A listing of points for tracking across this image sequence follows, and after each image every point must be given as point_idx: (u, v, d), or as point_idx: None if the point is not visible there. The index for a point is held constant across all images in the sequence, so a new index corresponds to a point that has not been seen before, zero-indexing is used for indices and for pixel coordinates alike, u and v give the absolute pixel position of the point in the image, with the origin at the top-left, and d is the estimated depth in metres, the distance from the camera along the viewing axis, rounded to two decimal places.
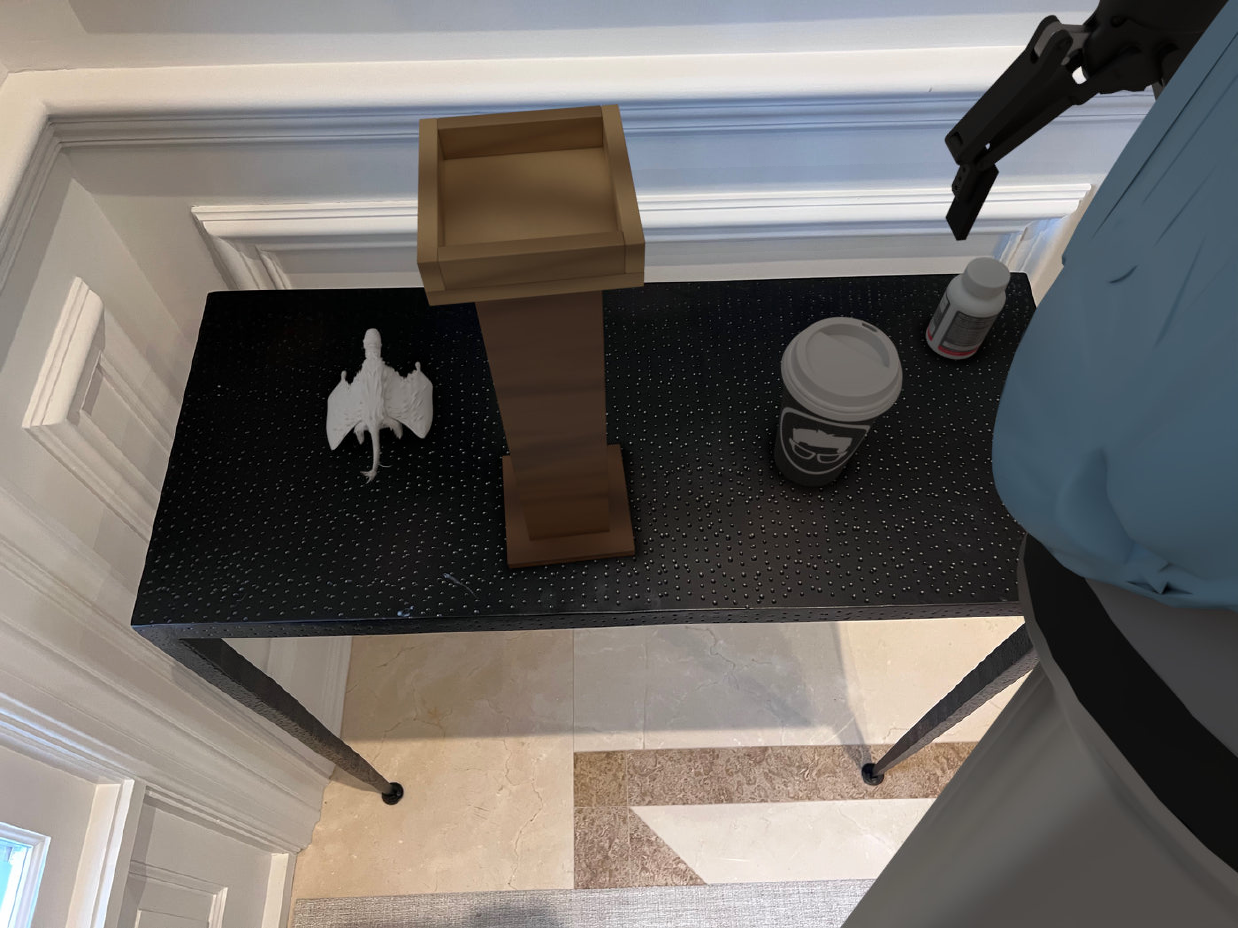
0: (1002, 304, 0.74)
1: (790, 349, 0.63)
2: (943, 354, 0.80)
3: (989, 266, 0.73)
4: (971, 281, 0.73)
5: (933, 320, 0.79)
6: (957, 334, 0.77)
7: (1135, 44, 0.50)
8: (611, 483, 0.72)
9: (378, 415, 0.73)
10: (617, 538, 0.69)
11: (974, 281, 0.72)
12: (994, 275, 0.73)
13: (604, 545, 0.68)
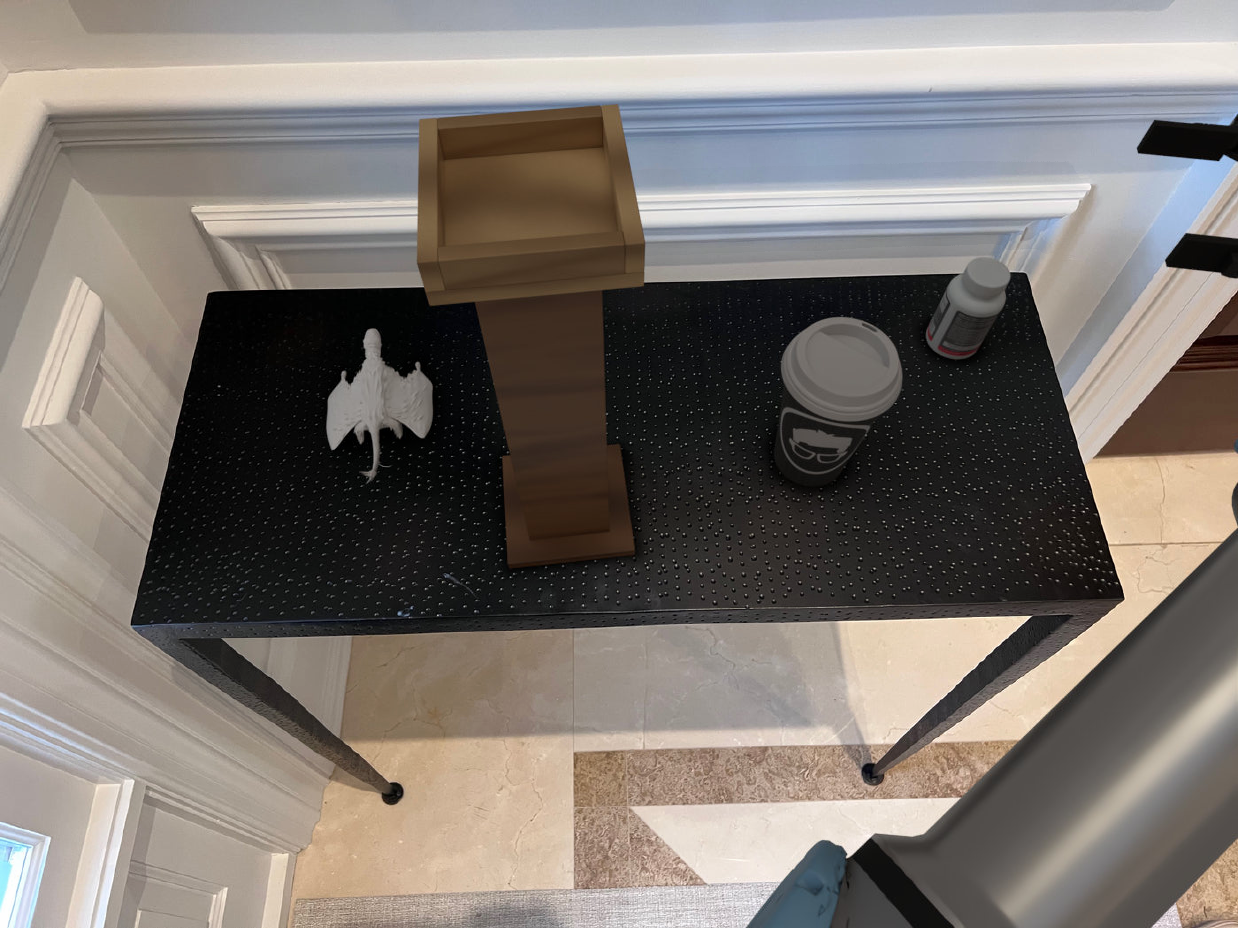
0: (1002, 304, 0.74)
1: (790, 349, 0.63)
2: (943, 354, 0.80)
3: (989, 266, 0.73)
4: (971, 281, 0.73)
5: (933, 320, 0.79)
6: (958, 334, 0.77)
7: None
8: (611, 483, 0.72)
9: (378, 415, 0.73)
10: (617, 538, 0.69)
11: (974, 281, 0.72)
12: (994, 275, 0.73)
13: (604, 545, 0.68)
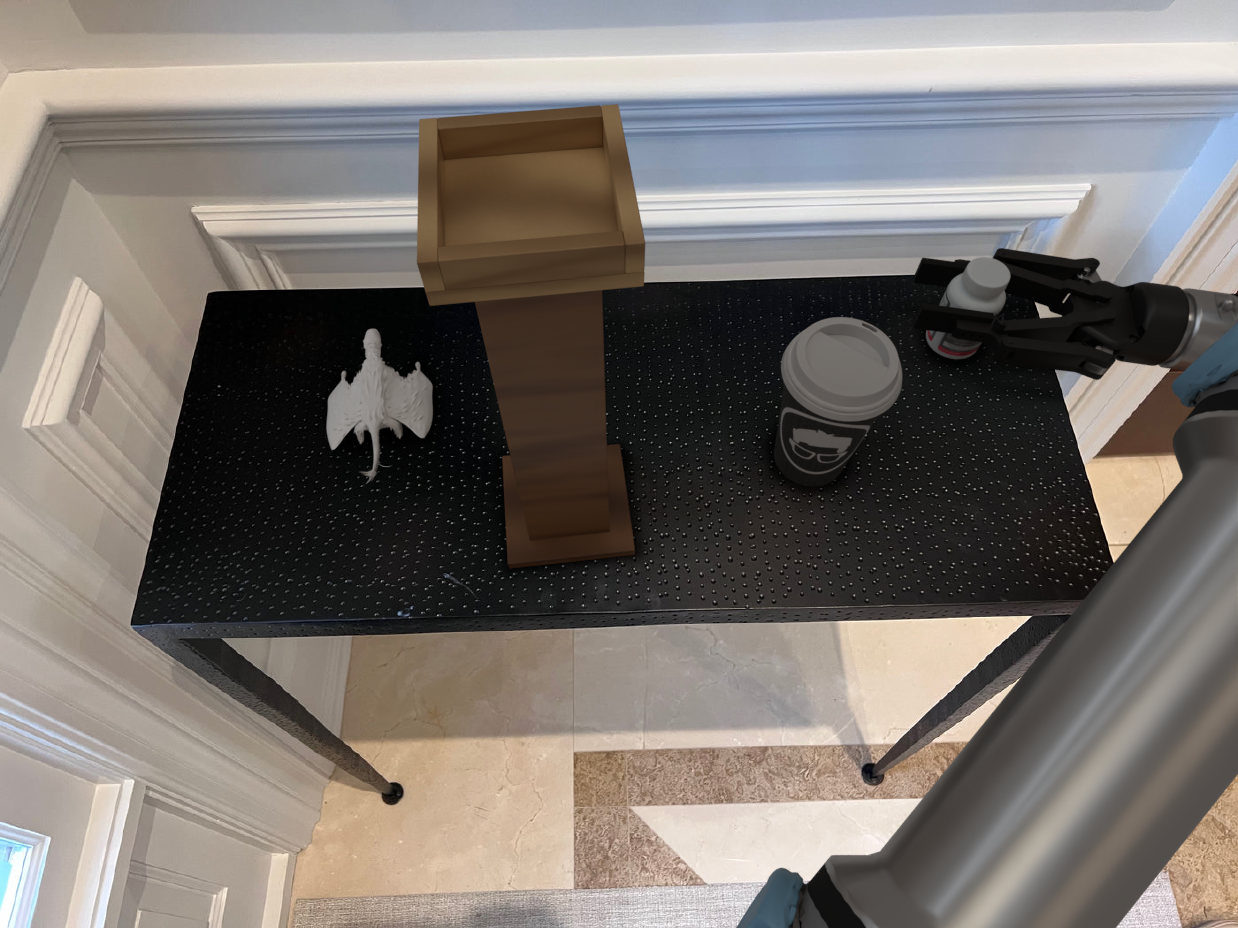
0: (1002, 304, 0.74)
1: (790, 349, 0.63)
2: (943, 354, 0.80)
3: (989, 266, 0.73)
4: (971, 281, 0.73)
5: None
6: None
7: None
8: (611, 483, 0.72)
9: (378, 415, 0.73)
10: (617, 538, 0.69)
11: (974, 281, 0.72)
12: (994, 275, 0.73)
13: (604, 545, 0.68)
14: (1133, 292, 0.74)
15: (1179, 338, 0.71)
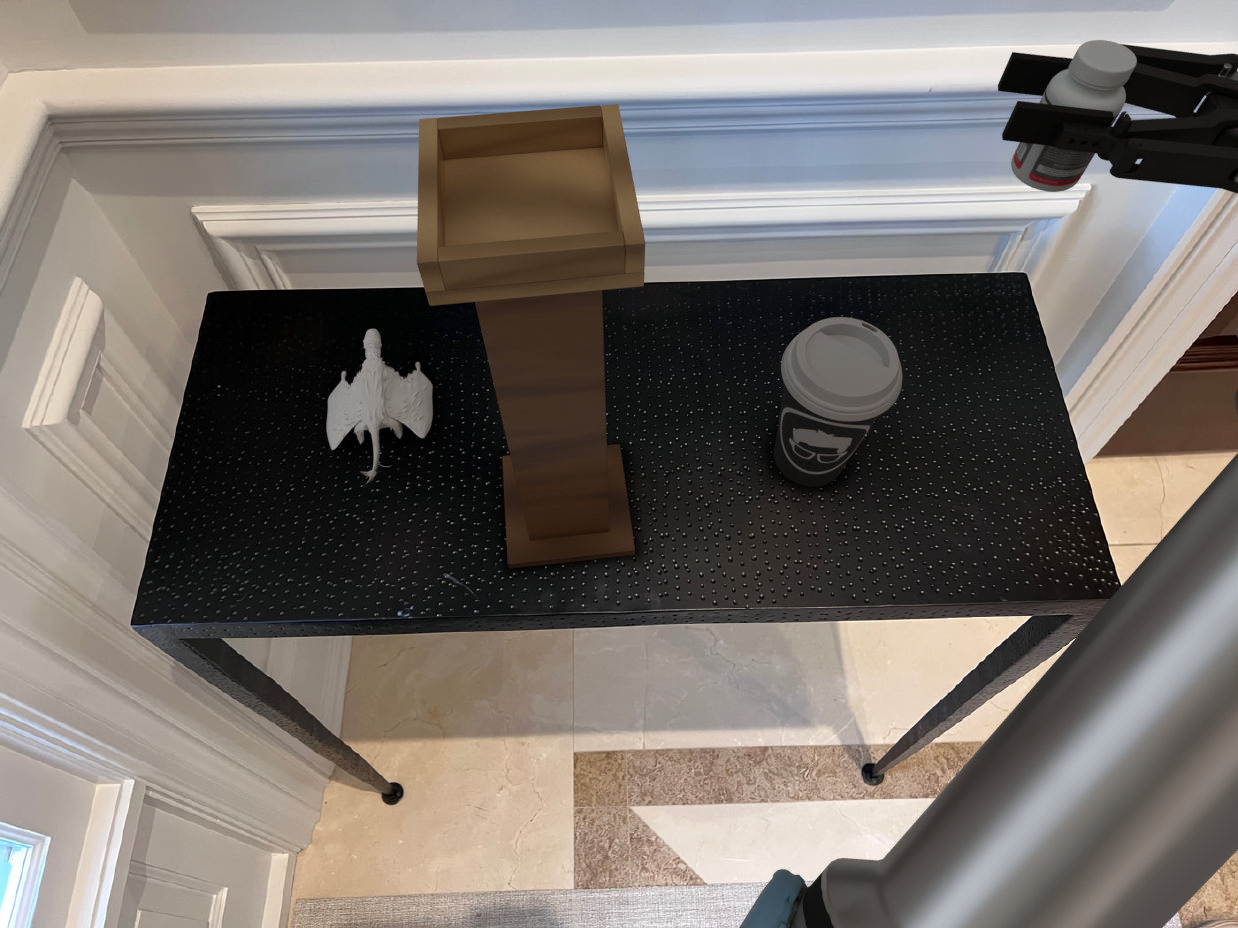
0: (1122, 103, 0.56)
1: (790, 349, 0.63)
2: (1036, 185, 0.62)
3: (1107, 49, 0.56)
4: (1084, 66, 0.55)
5: None
6: (1059, 151, 0.59)
7: None
8: (611, 483, 0.72)
9: (378, 415, 0.73)
10: (617, 538, 0.69)
11: (1089, 66, 0.55)
12: (1115, 59, 0.55)
13: (604, 545, 0.68)
14: None
15: None
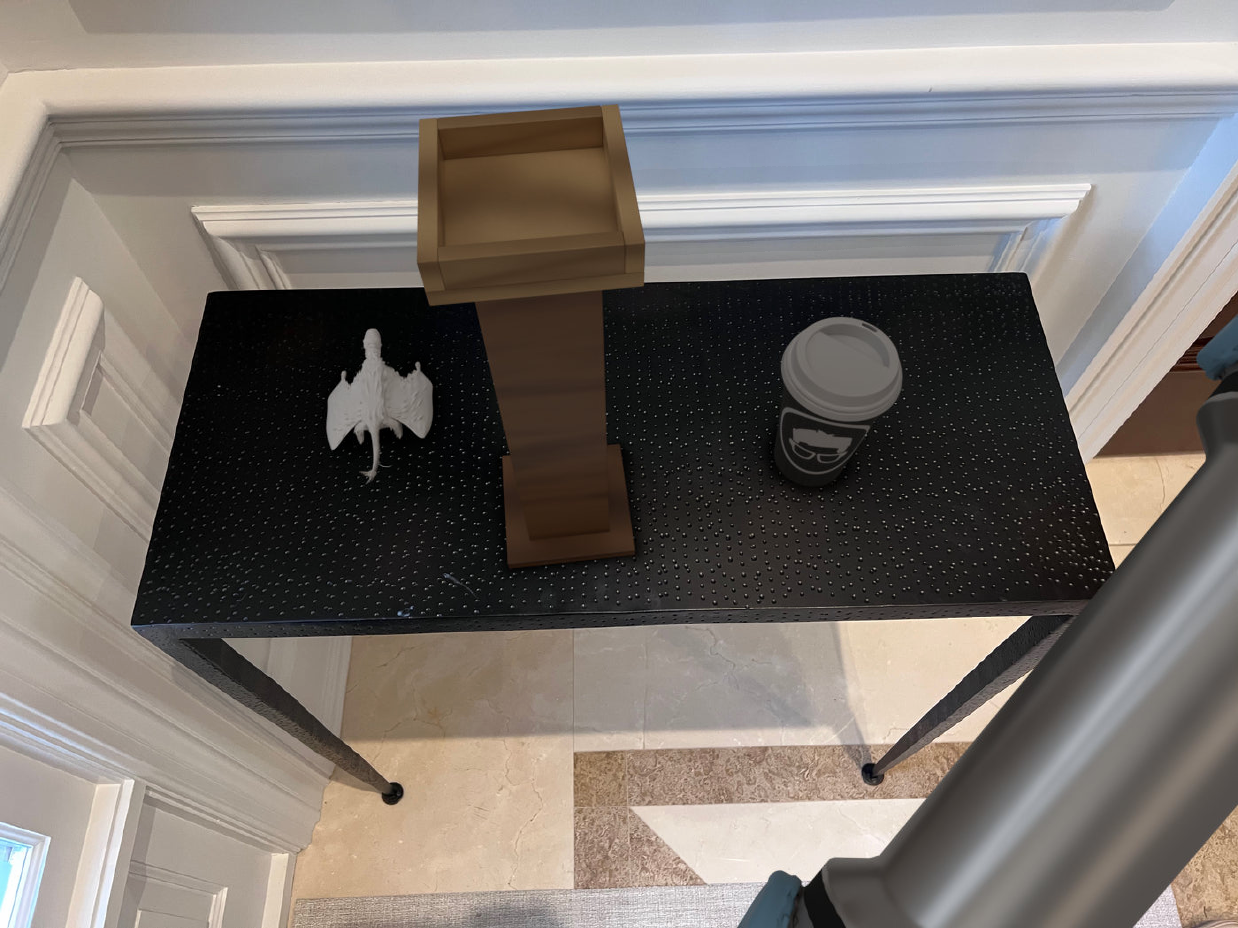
0: None
1: (790, 349, 0.63)
2: None
3: None
4: None
5: None
6: None
7: None
8: (611, 483, 0.72)
9: (378, 415, 0.73)
10: (617, 538, 0.69)
11: None
12: None
13: (604, 545, 0.68)
14: None
15: None
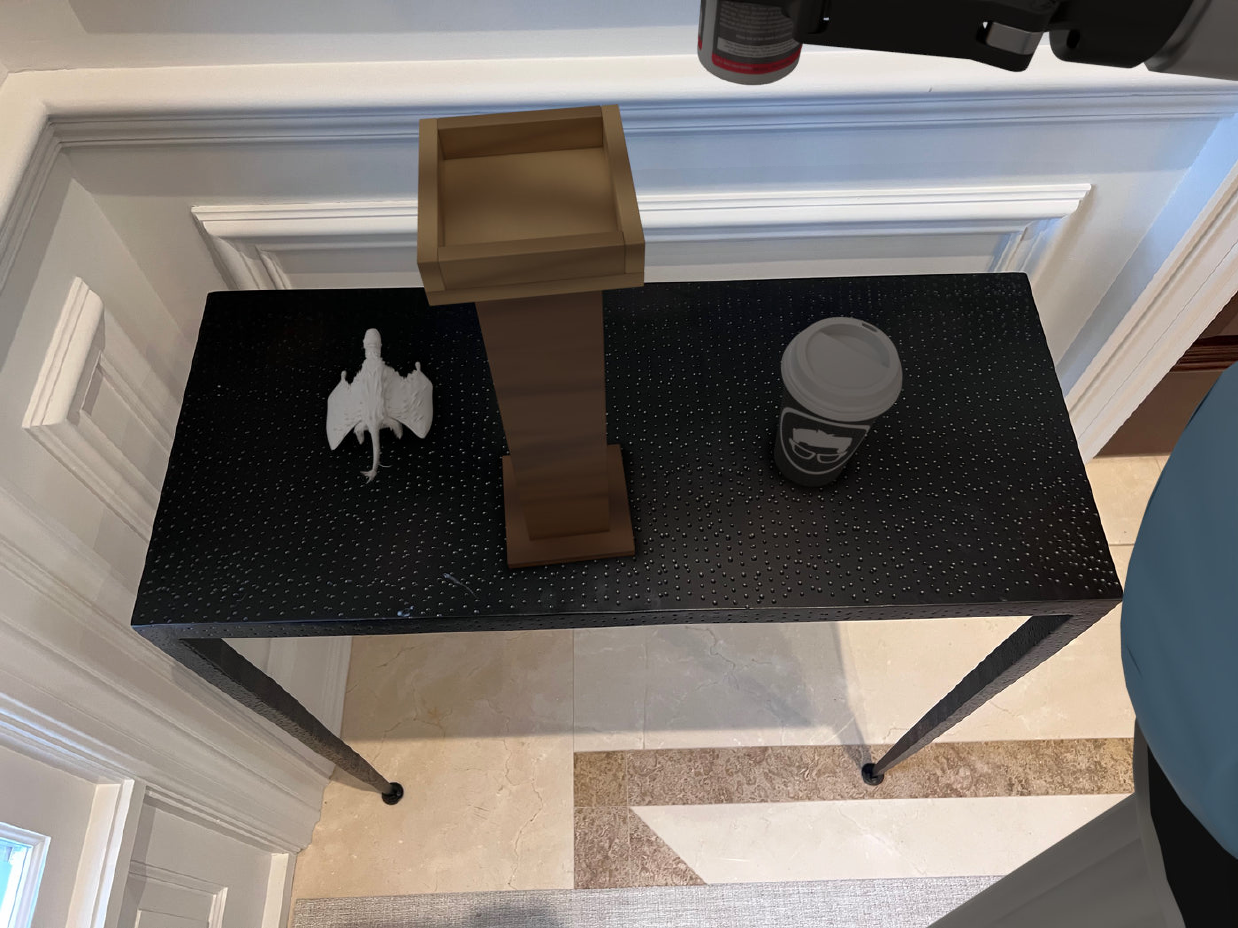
0: None
1: (790, 349, 0.63)
2: (723, 74, 0.40)
3: None
4: None
5: None
6: (737, 10, 0.37)
7: None
8: (611, 483, 0.72)
9: (378, 415, 0.73)
10: (617, 538, 0.69)
11: None
12: None
13: (604, 545, 0.68)
14: None
15: None
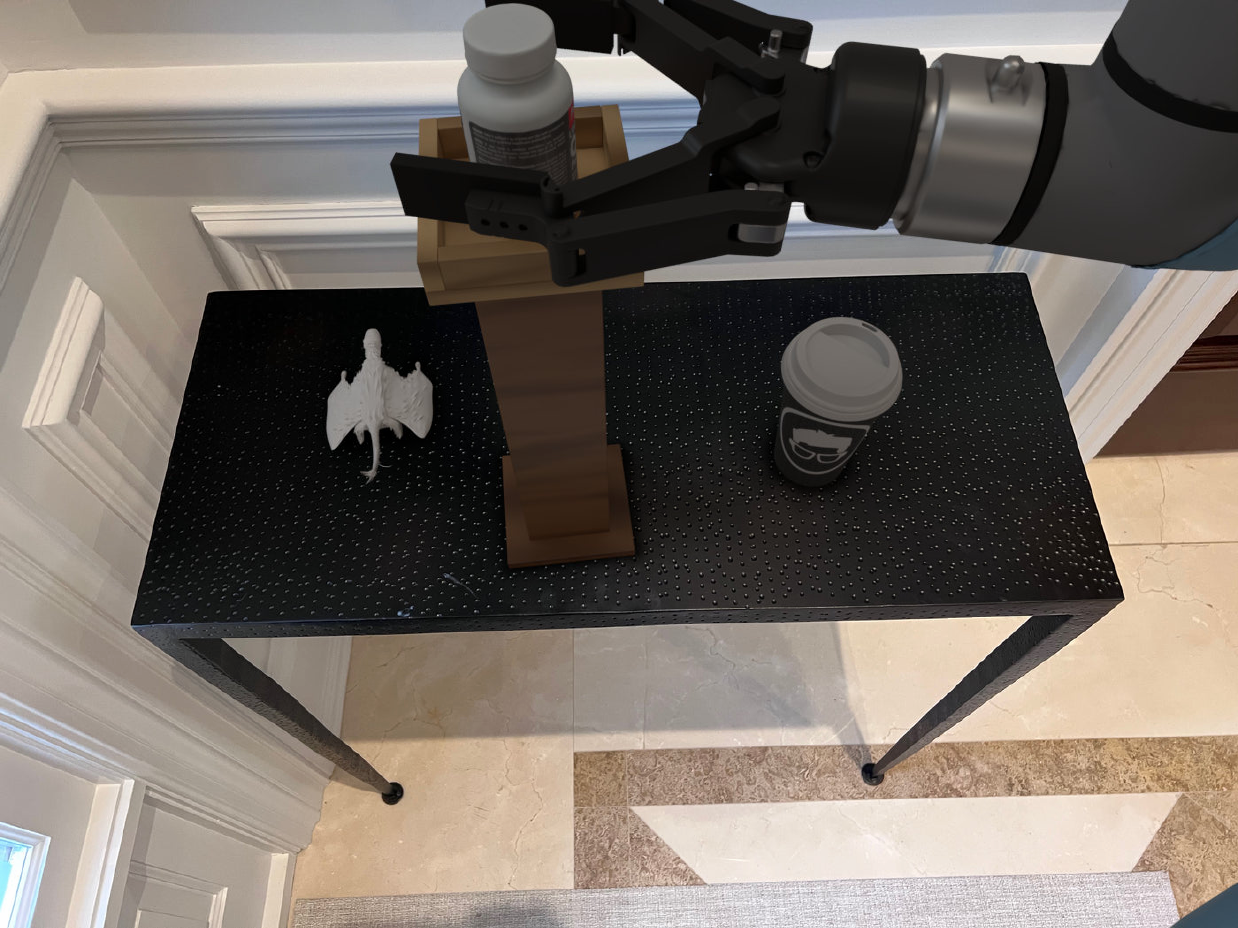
0: (554, 105, 0.35)
1: (790, 349, 0.63)
2: None
3: (515, 18, 0.34)
4: (466, 46, 0.34)
5: None
6: None
7: None
8: (611, 483, 0.72)
9: (378, 415, 0.73)
10: (617, 538, 0.69)
11: (469, 44, 0.33)
12: (516, 33, 0.34)
13: (604, 545, 0.68)
14: (830, 69, 0.35)
15: (905, 151, 0.32)
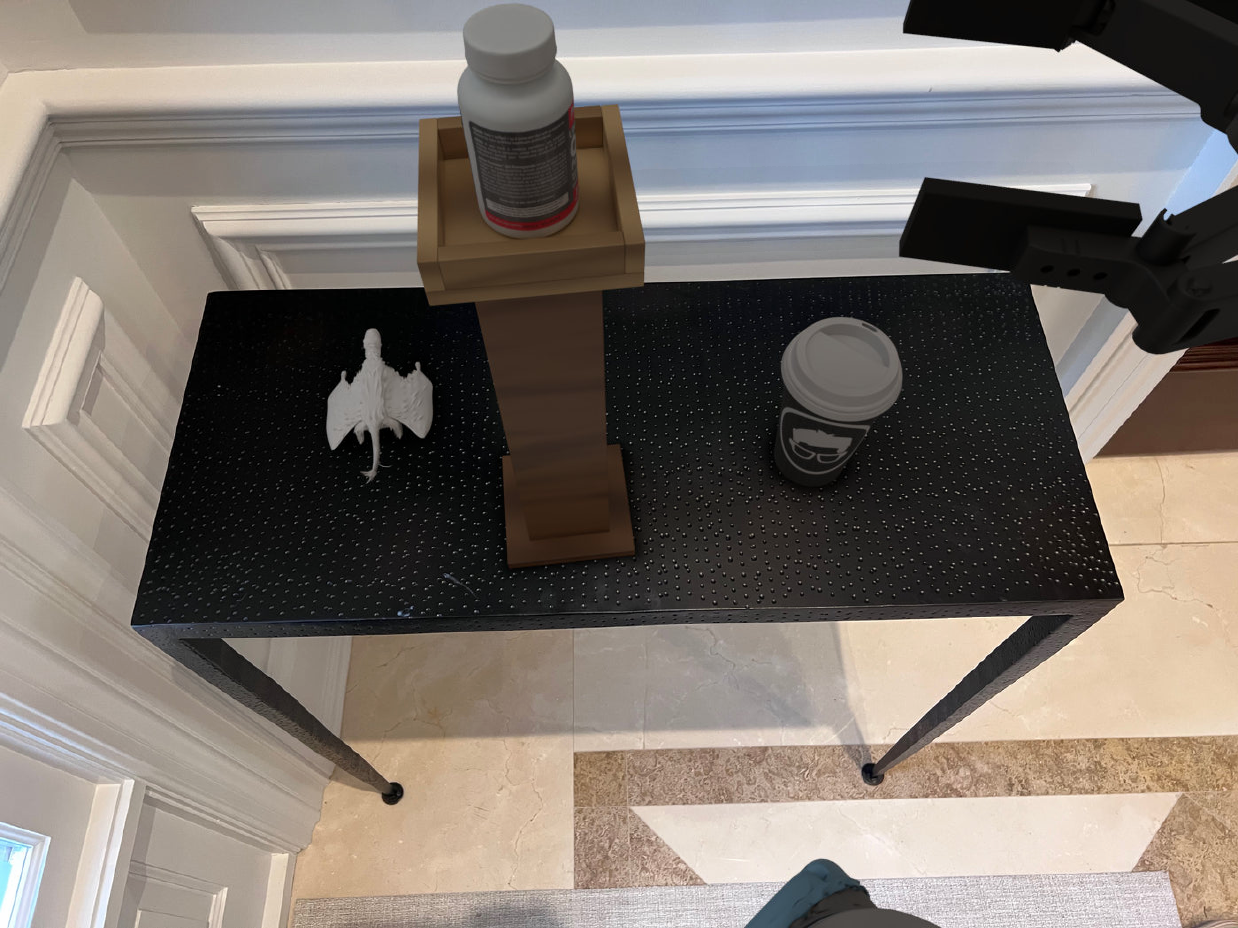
0: (554, 104, 0.35)
1: (790, 349, 0.63)
2: (498, 229, 0.41)
3: (515, 17, 0.34)
4: (466, 45, 0.34)
5: None
6: (494, 179, 0.38)
7: None
8: (611, 483, 0.72)
9: (378, 415, 0.73)
10: (617, 538, 0.69)
11: (469, 44, 0.33)
12: (516, 33, 0.34)
13: (604, 545, 0.68)
14: None
15: None
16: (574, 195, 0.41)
